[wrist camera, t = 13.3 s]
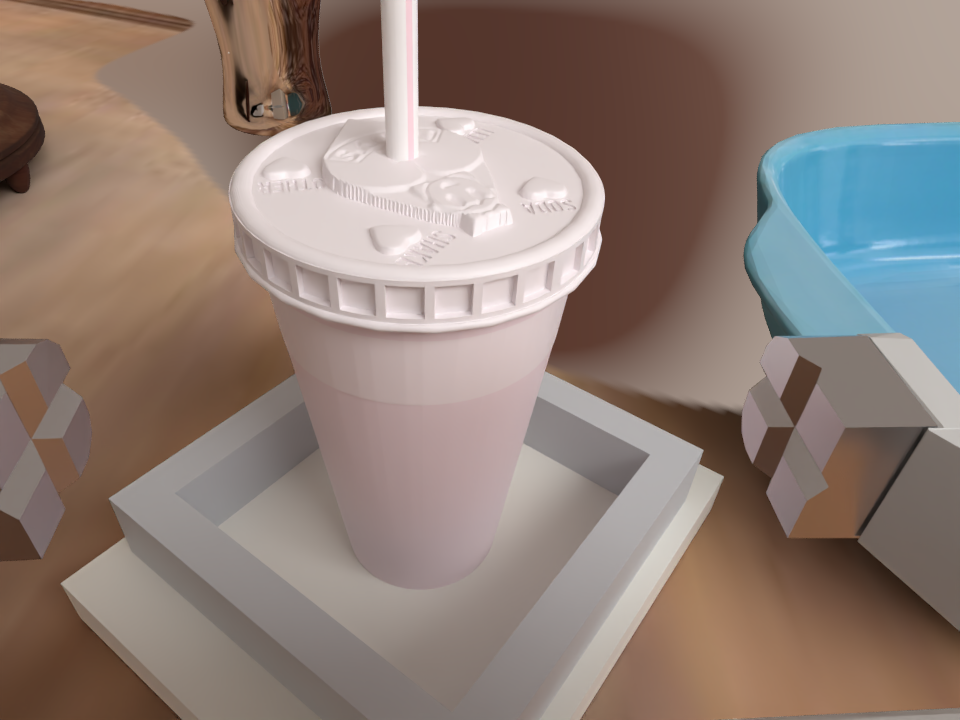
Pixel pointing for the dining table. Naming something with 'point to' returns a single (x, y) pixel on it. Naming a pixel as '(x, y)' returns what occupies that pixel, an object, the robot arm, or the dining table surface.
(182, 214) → the dining table surface
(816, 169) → the casserole dish
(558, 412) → the collar plate
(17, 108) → the brown spool stand
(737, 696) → the dining table surface
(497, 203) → the smoothie
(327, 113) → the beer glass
